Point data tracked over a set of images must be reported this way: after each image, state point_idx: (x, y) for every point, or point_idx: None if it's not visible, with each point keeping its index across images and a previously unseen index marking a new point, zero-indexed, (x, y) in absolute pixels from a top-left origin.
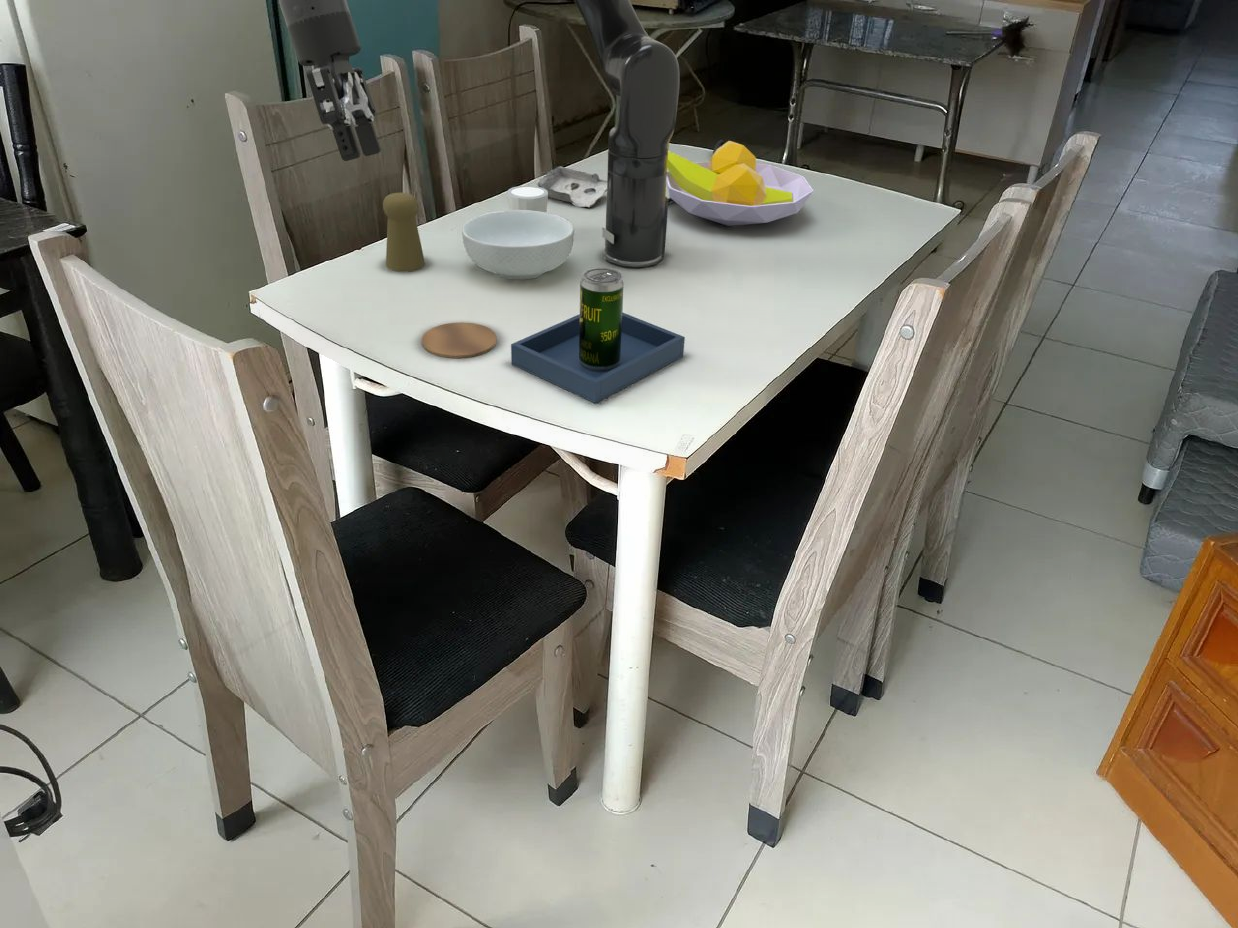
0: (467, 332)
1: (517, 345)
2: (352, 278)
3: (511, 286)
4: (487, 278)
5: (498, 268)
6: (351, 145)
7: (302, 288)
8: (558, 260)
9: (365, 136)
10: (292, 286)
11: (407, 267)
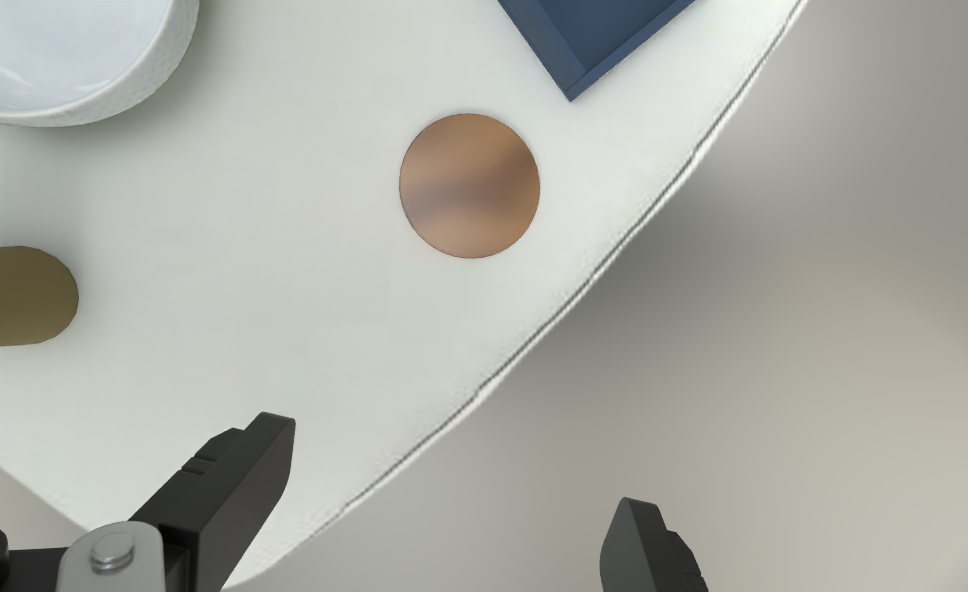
0: (447, 169)
1: (592, 77)
2: (120, 416)
3: None
4: None
5: (184, 53)
6: (688, 566)
7: None
8: None
9: (240, 525)
10: None
11: (69, 290)
